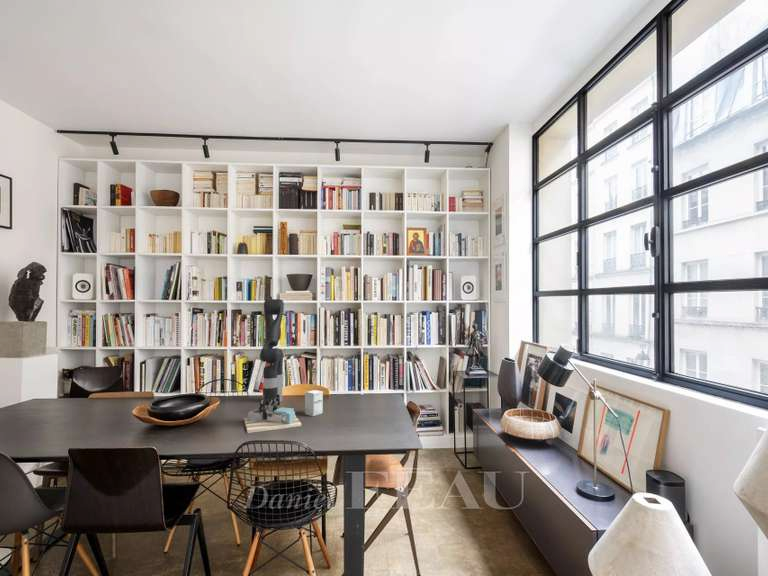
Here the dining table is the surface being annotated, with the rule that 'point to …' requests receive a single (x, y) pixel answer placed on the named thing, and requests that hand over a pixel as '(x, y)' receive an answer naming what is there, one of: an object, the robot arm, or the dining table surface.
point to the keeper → (287, 414)
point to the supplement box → (313, 402)
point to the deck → (268, 425)
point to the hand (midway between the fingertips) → (269, 417)
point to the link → (270, 416)
